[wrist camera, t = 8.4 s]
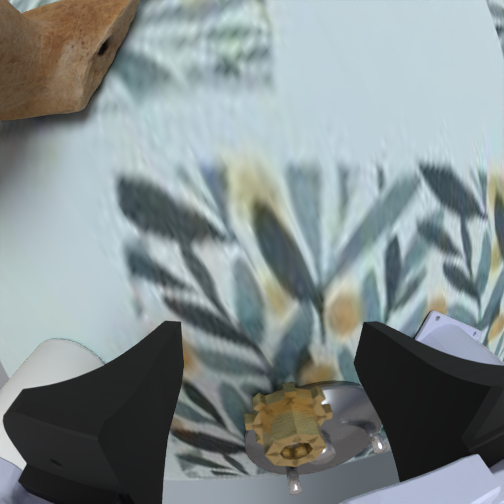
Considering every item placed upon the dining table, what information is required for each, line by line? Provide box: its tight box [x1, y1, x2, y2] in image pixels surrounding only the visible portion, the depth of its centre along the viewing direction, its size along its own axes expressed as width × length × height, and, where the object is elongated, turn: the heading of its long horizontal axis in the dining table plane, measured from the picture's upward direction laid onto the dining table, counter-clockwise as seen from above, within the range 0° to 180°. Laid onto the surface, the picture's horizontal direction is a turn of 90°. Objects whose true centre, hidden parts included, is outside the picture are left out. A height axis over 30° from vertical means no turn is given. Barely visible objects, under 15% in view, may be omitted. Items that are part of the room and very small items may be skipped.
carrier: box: [245, 381, 387, 495], centre depth 24 cm, size 14×14×5 cm
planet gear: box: [244, 382, 333, 467], centre depth 21 cm, size 7×7×4 cm
